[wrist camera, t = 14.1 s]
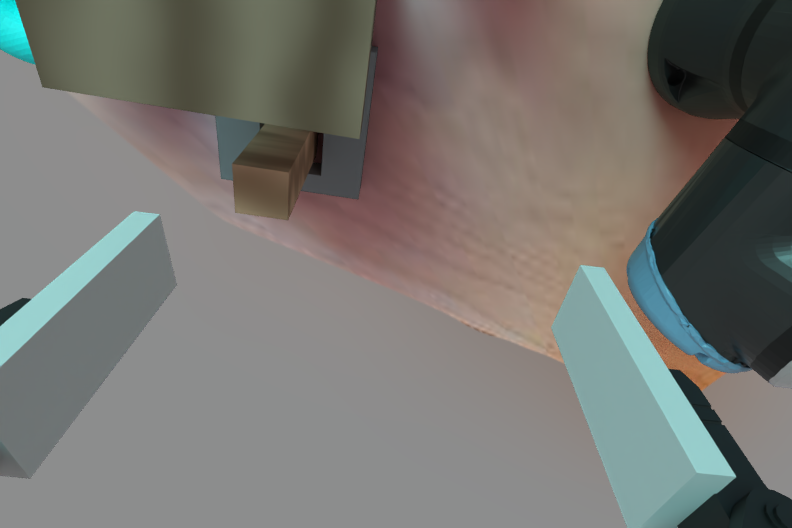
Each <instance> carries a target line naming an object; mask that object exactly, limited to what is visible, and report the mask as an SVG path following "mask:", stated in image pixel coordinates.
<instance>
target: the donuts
mask: <svg viewBox="0 0 792 528" xmlns="http://www.w3.org/2000/svg"><path fill="white" fill-rule="evenodd" d="M0 49H1V50H3V51H4V52H6V53H8V54H10V55H12V56H14V57H16V58H18V59H21V60H23V61H26V62H29V63H32V64H35V62H34V58H33V55H32V52H31V49H30V46H29V43H28V40H27V36H26V33H25V30H24V27H23V24H22V21H21V18H20V14H19V11H18V8H17V5H16V2H15V0H0Z"/></svg>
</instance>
